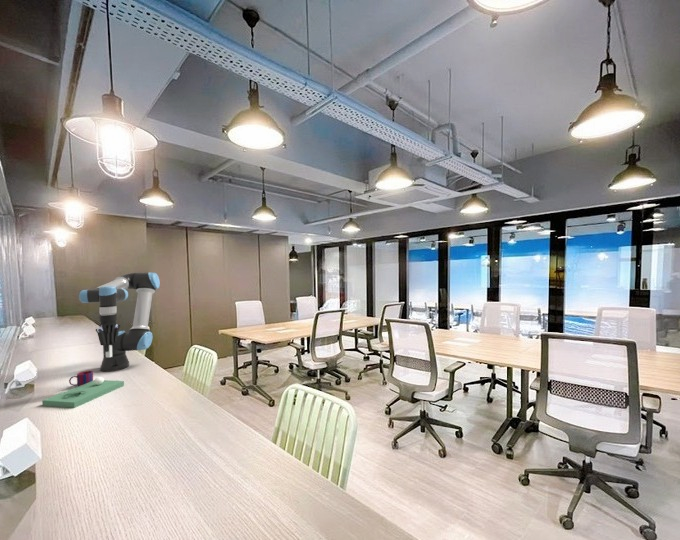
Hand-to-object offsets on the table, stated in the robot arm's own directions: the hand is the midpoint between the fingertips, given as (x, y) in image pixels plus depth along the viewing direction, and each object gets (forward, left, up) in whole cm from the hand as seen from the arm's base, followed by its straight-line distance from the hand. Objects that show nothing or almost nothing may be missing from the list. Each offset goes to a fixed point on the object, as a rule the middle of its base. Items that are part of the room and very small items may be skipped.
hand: (108, 356), depth 164 cm
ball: (+6, 0, -13) cm, 14 cm away
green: (+13, 0, -16) cm, 20 cm away
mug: (+3, -15, -16) cm, 22 cm away
